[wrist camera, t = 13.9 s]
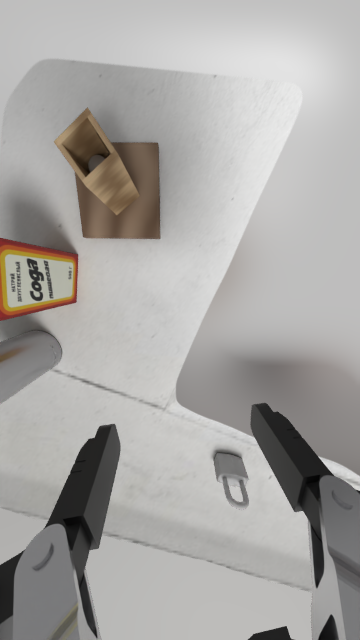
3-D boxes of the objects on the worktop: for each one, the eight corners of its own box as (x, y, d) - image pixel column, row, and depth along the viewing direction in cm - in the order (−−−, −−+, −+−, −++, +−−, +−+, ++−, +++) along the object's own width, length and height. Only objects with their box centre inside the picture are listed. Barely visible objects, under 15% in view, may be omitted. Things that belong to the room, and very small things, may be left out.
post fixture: (86, 238, 32) (54, 225, 24) (75, 147, 28) (34, 97, 20) (160, 238, 31) (153, 226, 24) (158, 147, 28) (149, 97, 20)
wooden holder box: (116, 215, 30) (85, 185, 20) (97, 187, 29) (53, 141, 19) (139, 195, 29) (118, 154, 19) (120, 166, 28) (87, 107, 18)
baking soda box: (76, 302, 35) (-10, 323, 19) (44, 296, 34) (-68, 312, 19) (78, 254, 32) (-18, 234, 17) (44, 247, 32) (-86, 220, 17)
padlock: (212, 461, 45) (220, 512, 35) (217, 450, 44) (227, 499, 34) (237, 467, 45) (252, 518, 36) (242, 456, 44) (259, 506, 35)
